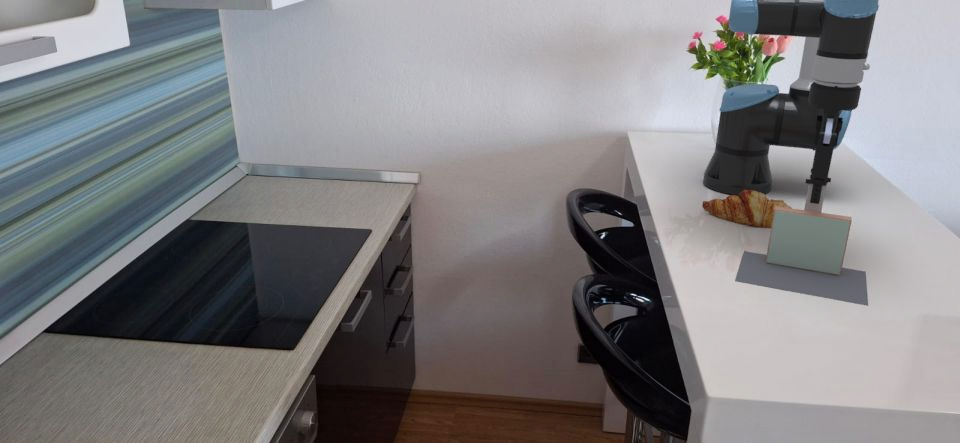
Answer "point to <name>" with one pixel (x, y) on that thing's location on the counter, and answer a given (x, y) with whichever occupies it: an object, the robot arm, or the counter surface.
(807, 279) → the mat
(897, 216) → the counter surface
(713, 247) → the counter surface
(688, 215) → the counter surface
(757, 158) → the robot arm
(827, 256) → the block
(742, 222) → the croissant
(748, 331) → the counter surface
